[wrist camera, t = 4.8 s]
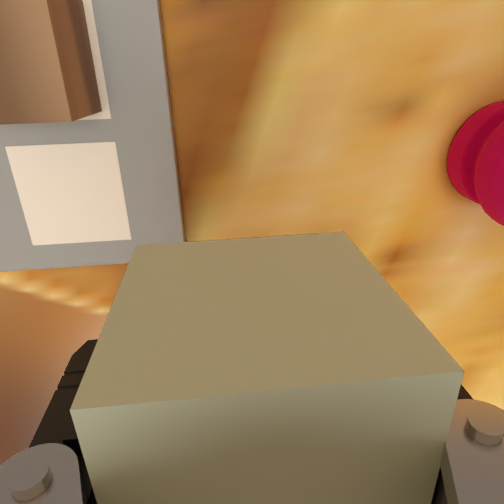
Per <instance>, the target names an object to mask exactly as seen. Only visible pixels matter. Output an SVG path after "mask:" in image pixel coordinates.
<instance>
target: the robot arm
mask: <svg viewBox="0 0 504 504" xmlns="http://www.w3.org/2000/svg"><path fill="white" fill-rule="evenodd" d="M97 341H98V339H97V340H88V341H87V342H86V343H85V344H84V345H83V346H81V347H80V348H79V349H78V350H77V352H75V353H74V354H73V355H72V357H71V359H70V361H69V363H68V365H67V367H66V370H65V372H64V376H62V378H61V380H60V382H59V384H58V389H57V390H56V391H55V393H54V395H53V397H52V400H51V401H50V404H49V406H48V408H47V410H46V412H45V414H44V417H43V418H42V421H41V423H40V425H39V427H38V429H37V431H36V433H35V436H34V438H33V440H32V442H31V444H30V446H29V448H28V449H26V450H23V451H21V452H20V453H18V454H16V455H15V456H13V457H12V458H10V459H8V461H6V462H5V463H4V464H2V465H1V466H0V504H97V501H96V498H95V495H94V491H93V488H92V484H91V481H90V478H89V474H88V471H87V467H86V464H85V460H84V457H83V454H82V450H81V447H80V443H79V440H78V437H77V433H76V430H75V426H74V423H73V420H72V416H71V413H70V408H71V406H72V403H73V401H74V398H75V396H76V393H77V391H78V388H79V386H80V383H81V381H82V378H83V376H84V373H85V371H86V368H87V366H88V363H89V361H90V358H91V356H92V353H93V351H94V348H95V346H96V344H97ZM431 504H504V410H502V409H500V408H498V407H496V406H494V405H491V404H489V403H486V402H483V401H479V400H473V398H472V397H471V396H470V395H469V393H468V392H467V391H466V390H465V389H464V387H463V386H462V385H461V386H460V390H459V394H458V398H457V402H456V406H455V410H454V414H453V418H452V422H451V426H450V430H449V434H448V438H447V442H445V445H444V449H443V453H442V457H441V461H440V469H439V473H438V477H437V481H436V485H435V489H434V493H433V497H432V501H431Z"/></svg>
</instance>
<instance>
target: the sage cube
mask: <svg viewBox="0 0 504 504" xmlns="http://www.w3.org/2000/svg"><path fill="white" fill-rule="evenodd" d="M463 374H464V370H463V369H462V368H461V367H460V366H459V364H458V363H457V362H456V361H455V360H454V359H453V358H452V356H451V355H450V354H449V353H448V352H447V351H446V349H445V348H444V347H443V346H442V345H441V344H440V343H439V341H438V340H437V339H436V338H435V337H434V336H433V334H432V333H431V332H430V331H429V330H428V329H427V327H426V326H425V325H424V324H423V323H422V322H421V321H420V319H419V318H418V317H417V316H416V315H415V314H414V312H413V311H412V310H411V309H410V308H409V307H408V306H407V304H406V303H405V302H404V301H403V300H402V299H401V297H400V296H399V295H398V294H397V293H396V292H395V291H394V289H393V288H392V287H391V286H390V285H389V284H388V282H387V281H386V280H385V279H384V278H383V277H382V276H381V274H380V273H379V272H378V271H377V270H376V269H375V267H374V266H373V265H372V264H371V263H370V262H369V260H368V259H367V258H366V257H365V256H364V255H363V254H362V252H361V251H360V250H359V249H358V248H357V247H356V245H355V244H354V243H353V242H352V241H351V240H350V239H349V237H348V236H347V235H346V234H345V233H344V232H332V233H317V234H301V235H286V236H271V237H255V238H240V239H225V240H209V241H194V242H179V243H163V244H148V245H136V246H135V249H134V251H133V254H132V256H131V259H130V261H129V264H128V266H127V269H126V271H125V274H124V276H123V279H122V281H121V284H120V286H119V289H118V291H117V294H116V296H115V299H114V301H113V304H112V306H111V309H110V311H109V314H108V316H107V319H106V321H105V324H104V326H103V329H102V331H101V334H100V336H99V339H98V341H97V344H96V346H95V348H94V351H93V353H92V356H91V358H90V361H89V363H88V366H87V368H86V371H85V373H84V376H83V378H82V381H81V383H80V386H79V388H78V391H77V393H76V396H75V398H74V401H73V403H72V406H71V408H70V413H71V416H72V420H73V423H74V426H75V430H76V433H77V437H78V440H79V443H80V447H81V450H82V454H83V457H84V460H85V464H86V467H87V471H88V474H89V478H90V481H91V484H92V488H93V491H94V495H95V498H96V501H97V504H431V501H432V497H433V493H434V489H435V485H436V481H437V477H438V473H439V469H440V461H441V457H442V453H443V449H444V445H445V442H447V438H448V434H449V430H450V426H451V422H452V418H453V414H454V410H455V406H456V402H457V398H458V394H459V390H460V386H461V382H462V378H463Z"/></svg>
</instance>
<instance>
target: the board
mask: <svg viewBox="0 0 504 504" xmlns="http://www.w3.org/2000/svg"><path fill="white" fill-rule="evenodd" d="M82 1H83V6H84V11H85V17H86V23H87V28H88V34H89V40H90V45H91V51H92V57H93V62H94V68H95V74H96V79H97V85H98V91H99V96H100V102H101V108H102V111H101V112H98V113H96V114H93V115H90V116H87V117H84V118H81V119H78V120H76V121H73V122H54V123H30V124H5V125H0V272H2V271H17V270H32V269H48V268H63V267H78V266H93V265H109V264H124V263H129V261H130V259H131V256H132V254H133V251H134V249H135V246H136V245H148V244H163V243H179V242H185V232H184V223H183V214H182V204H181V195H180V186H179V177H178V167H177V158H176V149H175V139H174V130H173V121H172V112H171V102H170V93H169V84H168V75H167V65H166V56H165V47H164V37H163V28H162V19H161V10H160V0H82Z"/></svg>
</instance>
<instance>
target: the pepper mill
mask: <svg viewBox="0 0 504 504" xmlns="http://www.w3.org/2000/svg"><path fill="white" fill-rule="evenodd" d="M448 174H449V178H450V180H451V182H452V184H453V186H454V188H455V189H456V190H457V191H458V192H459V193H460V194H462V195H463V196H465V197H466V198H468V199H470V200H472V201H475V202H477V203H479V204H480V205H481V206H482V208H483V210H484V211H485V212H486V213H487V214H488V215H489V216H490V217H491V218H492V219H493V220H495V221H496V222H497V223H499V224H501V225H503V226H504V101H502V102H497V103H493V104H491V105H488V106H486V107H484V108H482V109H481V110H479V111H478V112H476V113H475V114H474V115H472V116H471V117H470V118H469V119H468V120H467V121H466V122H465V123H464V124H463V126H462V127H461V128H460V129H459V131H458V133H457V134H456V136H455V138H454V139H453V141H452V144H451V147H450V151H449V154H448Z"/></svg>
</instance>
